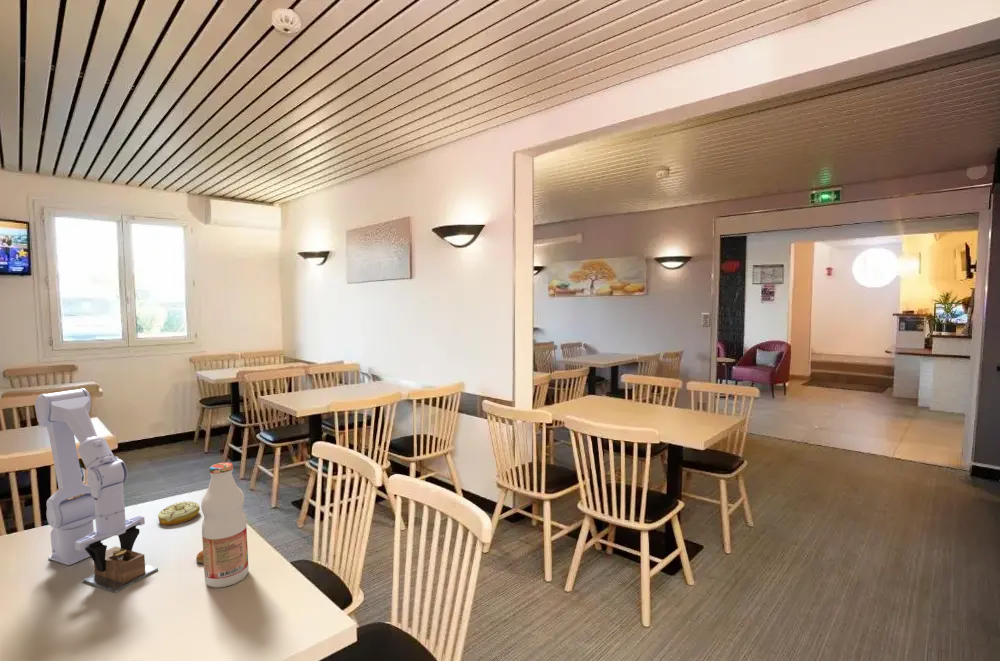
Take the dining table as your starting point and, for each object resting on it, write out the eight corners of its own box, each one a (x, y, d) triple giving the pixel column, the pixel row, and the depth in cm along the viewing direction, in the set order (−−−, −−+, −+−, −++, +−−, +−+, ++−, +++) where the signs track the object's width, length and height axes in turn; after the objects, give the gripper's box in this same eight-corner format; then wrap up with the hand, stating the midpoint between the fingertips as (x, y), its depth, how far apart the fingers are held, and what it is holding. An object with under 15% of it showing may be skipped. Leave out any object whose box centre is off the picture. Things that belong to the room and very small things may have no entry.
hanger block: (94, 574, 122) (93, 556, 122) (116, 563, 127) (115, 546, 127) (123, 583, 118) (122, 564, 118) (145, 572, 123) (144, 554, 123)
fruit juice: (195, 585, 118) (188, 470, 116) (226, 564, 127) (220, 457, 125) (228, 591, 116) (222, 474, 114) (257, 569, 125) (252, 460, 123)
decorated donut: (151, 521, 152) (151, 509, 152) (189, 508, 161) (188, 496, 161) (168, 529, 147) (167, 517, 146) (206, 515, 156) (205, 504, 155)
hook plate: (82, 581, 120) (80, 556, 120) (126, 560, 129) (125, 537, 129) (114, 592, 116) (112, 566, 115) (158, 570, 125) (156, 545, 125)
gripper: (86, 527, 114) (91, 583, 115) (151, 501, 127) (154, 553, 129) (67, 522, 117) (72, 577, 118) (132, 497, 130) (136, 548, 131)
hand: (113, 564), depth 123 cm, fingers closed on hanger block, 5 cm apart
